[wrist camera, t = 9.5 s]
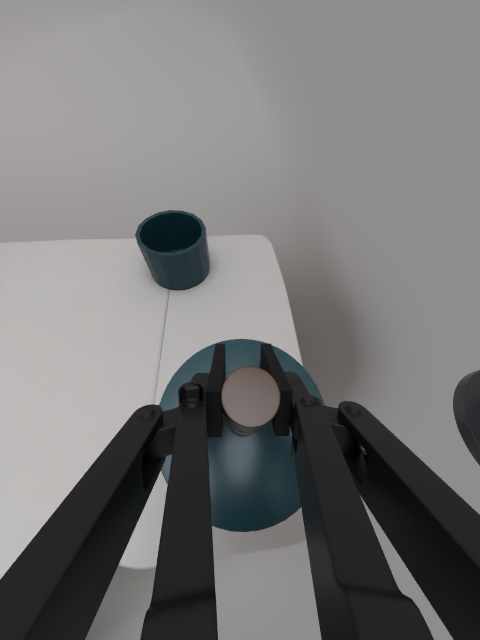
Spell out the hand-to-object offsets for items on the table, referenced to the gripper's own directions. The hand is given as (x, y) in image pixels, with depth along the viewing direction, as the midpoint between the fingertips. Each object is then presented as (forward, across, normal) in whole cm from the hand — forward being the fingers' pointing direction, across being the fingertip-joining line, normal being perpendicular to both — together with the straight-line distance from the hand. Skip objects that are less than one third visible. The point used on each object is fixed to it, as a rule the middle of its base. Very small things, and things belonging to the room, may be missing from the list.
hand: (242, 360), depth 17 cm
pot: (+34, -12, +6) cm, 37 cm away
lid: (-1, 0, -4) cm, 5 cm away
